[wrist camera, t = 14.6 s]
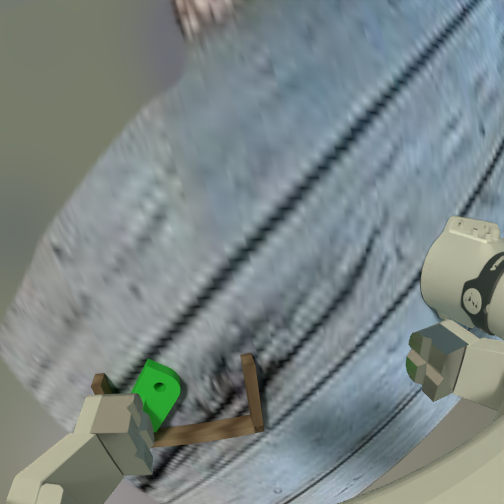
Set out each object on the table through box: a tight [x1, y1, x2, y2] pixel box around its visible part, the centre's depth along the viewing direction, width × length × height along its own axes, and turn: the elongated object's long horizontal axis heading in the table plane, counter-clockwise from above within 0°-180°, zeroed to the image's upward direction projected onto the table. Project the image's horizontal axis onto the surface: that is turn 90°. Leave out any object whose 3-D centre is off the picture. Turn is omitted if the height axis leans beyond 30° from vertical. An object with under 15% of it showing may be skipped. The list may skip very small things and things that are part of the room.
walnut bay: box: [91, 353, 264, 448], centre depth 41 cm, size 23×14×3 cm, turn 97°
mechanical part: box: [131, 359, 180, 433], centre depth 38 cm, size 12×6×8 cm, turn 149°
